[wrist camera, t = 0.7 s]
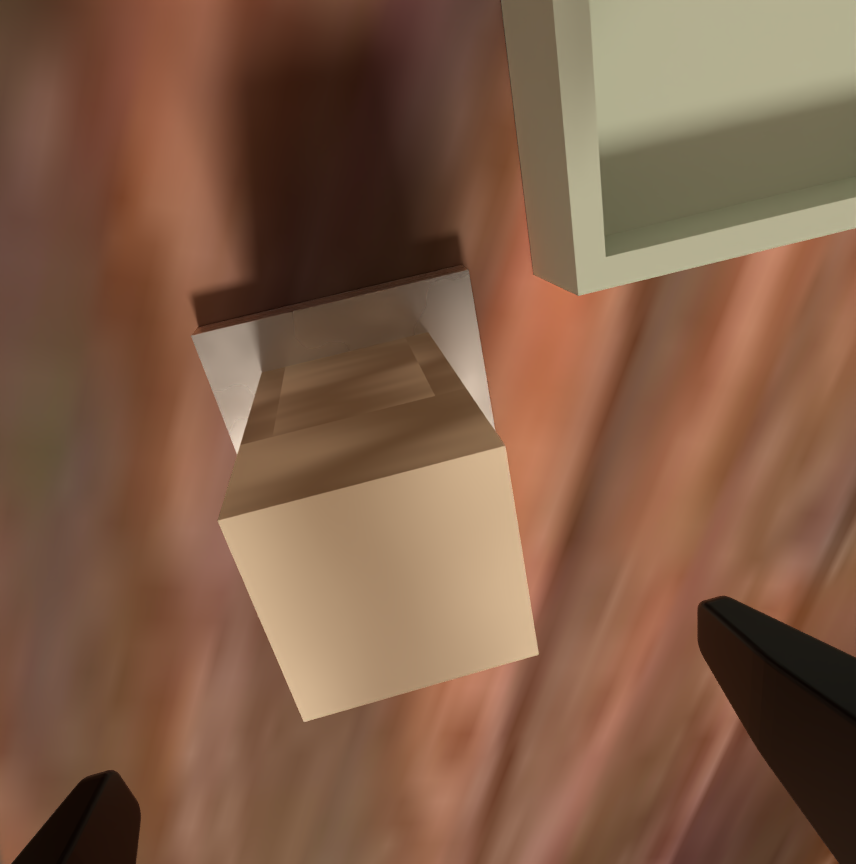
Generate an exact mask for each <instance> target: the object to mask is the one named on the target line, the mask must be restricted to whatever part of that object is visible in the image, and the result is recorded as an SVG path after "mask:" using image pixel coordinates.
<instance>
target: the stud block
mask: <svg viewBox="0 0 856 864" xmlns="http://www.w3.org/2000/svg"><path fill="white" fill-rule="evenodd" d="M426 332H428V333H429V334H430V336H431V337H432V338H433V340H434V341H435V343H436V344H437V346H438V347H439V349H440V350H441V352H442V353H443V355H444V356H445V358H446V359H447V361H448V362H449V364H450V365H451V366H452V368H453V369H454V371H455V372H456V374H457V375H458V377H459V378H460V380H461V381H462V383H463V384H464V386H465V387H466V389H467V390H468V392H469V393H470V394H471V396H472V397H473V399H474V400H475V402H476V403H477V405H478V406H479V408H480V409H481V411H482V412H483V414H484V415H485V417H486V418H487V420H488V421H489V423H490V424H491V425H492V427H493V428H494V430H495V427H494V421H493V415H492V409H491V403H490V397H489V391H488V385H487V379H486V372H485V366H484V360H483V354H482V348H481V342H480V336H479V330H478V324H477V318H476V312H475V306H474V300H473V294H472V288H471V282H470V276H469V270H468V269H467V268H465V267H463V266H462V265H458V266H454V267H449V268H445V269H441V270H437V271H433V272H428V273H424V274H420V275H416V276H411V277H407V278H403V279H399V280H395V281H390V282H386V283H382V284H378V285H374V286H369V287H365V288H361V289H357V290H352V291H348V292H344V293H340V294H336V295H331V296H327V297H323V298H319V299H314V300H310V301H306V302H302V303H298V304H293V305H289V306H285V307H281V308H277V309H272V310H268V311H264V312H260V313H255V314H251V315H247V316H243V317H239V318H234V319H230V320H226V321H222V322H217V323H213V324H209V325H205V326H201V327H198V328H197V329H196V330H195V331H194V333H193V334H192V335H191V337H192V339H193V342H194V344H195V347H196V349H197V352H198V355H199V357H200V360H201V362H202V365H203V367H204V370H205V373H206V375H207V378H208V380H209V383H210V386H211V388H212V391H213V393H214V396H215V398H216V401H217V404H218V406H219V409H220V411H221V414H222V416H223V419H224V422H225V424H226V427H227V429H228V432H229V434H230V437H231V440H232V442H233V445H234V447H235V450H236V453H237V454H238V450H239V447H240V444H241V440H242V437H243V434H244V430H245V427H246V424H247V420H248V417H249V414H250V410H251V407H252V403H253V400H254V397H255V393H256V390H257V387H258V383H259V380H260V377H261V373H263V372H267V371H271V370H275V369H279V368H283V367H287V366H291V365H295V364H299V363H303V362H308V361H312V360H316V359H320V358H324V357H328V356H332V355H336V354H340V353H344V352H348V351H353V350H357V349H361V348H365V347H369V346H373V345H377V344H381V343H385V342H389V341H394V340H398V339H402V338H406V337H410V336H414V335H418V334H422V333H426Z"/></svg>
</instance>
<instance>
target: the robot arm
mask: <svg viewBox="0 0 856 864" xmlns="http://www.w3.org/2000/svg"><path fill="white" fill-rule="evenodd" d="M698 645H699V648H700V651H701V653H702V655H703V657H704V659H705V661H706V662H707V664H708V666H709V668H710V669H711V671H712V673H713V674H714V676H715V678H716V680H717V681H718V683H719V685H720V686H721V688H722V690H723V692H724V693H725V695H726V697H727V698H728V700H729V702H730V704H731V705H732V707H733V709H734V710H735V712H736V714H737V716H738V717H739V719H740V721H741V722H742V724H743V726H744V728H745V729H746V731H747V733H748V734H749V736H750V738H751V739H752V741H753V743H754V744H755V746H756V747H757V749H758V751H759V752H760V753H761V755H762V756H763V758H764V759H765V761H766V762H767V764H768V765H769V767H770V768H771V769H772V771H773V772H774V773H775V775H776V776H777V778H778V779H779V780H780V782H781V783H782V785H783V786H784V787H785V789H786V790H787V792H788V793H789V794H790V796H791V797H792V798H793V800H794V801H795V803H796V804H797V805H798V807H799V808H800V810H801V811H802V812H803V814H804V815H805V817H806V818H807V819H808V821H809V822H810V823H811V825H812V826H813V828H814V829H815V830H816V832H817V833H818V835H819V836H820V837H821V839H822V840H823V842H824V843H825V844H826V846H827V847H828V848H829V850H830V851H831V853H832V854H833V855H834V857H835V858H836V860H837V861H838V862H839V864H856V657H854V656H851V655H849V654H847V653H845V652H843V651H841V650H839V649H837V648H835V647H833V646H831V645H828V644H826V643H824V642H822V641H820V640H818V639H816V638H814V637H812V636H810V635H808V634H805V633H803V632H801V631H799V630H797V629H795V628H793V627H791V626H789V625H787V624H785V623H783V622H780V621H778V620H776V619H774V618H772V617H770V616H768V615H766V614H764V613H762V612H760V611H757V610H755V609H753V608H751V607H749V606H747V605H745V604H743V603H741V602H739V601H737V600H735V599H732V598H730V597H727V596H718V597H715V598H711V599H708V600H704V601H702V602H700V604H699V605H698ZM140 822H141V813H140V807H139V804H138V802H137V800H136V798H135V797H134V795H133V794H132V792H131V791H130V789H129V788H128V786H127V785H126V784H125V782H124V781H123V779H122V778H121V776H120V775H119V773H118V772H116V771H114V770H108V771H104V772H101V773H97V774H94V775H90V776H87V777H86V778H84V779H82V780H81V781H80V782H79V783H78V784H77V785H76V787H75V788H74V789H73V790H72V791H71V793H70V794H69V795H68V796H67V797H66V799H65V800H64V801H63V802H62V803H61V805H60V806H59V807H58V808H57V809H56V811H55V812H54V813H53V814H52V815H51V817H50V818H49V819H48V820H47V821H46V823H45V824H44V825H43V826H42V827H41V829H40V830H39V831H38V832H37V833H36V835H35V836H34V837H33V838H32V839H31V841H30V842H29V843H28V844H27V845H26V847H25V848H24V849H23V850H22V851H21V853H20V854H19V855H18V856H17V857H16V859H15V860H14V861H13V862H12V863H11V864H136V858H137V849H138V840H139V831H140Z"/></svg>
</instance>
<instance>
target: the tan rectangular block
mask: <svg viewBox="0 0 856 864" xmlns="http://www.w3.org/2000/svg"><path fill="white" fill-rule="evenodd" d="M218 523H219V525H220V528H221V530H222V532H223V535H224V537H225V539H226V542H227V544H228V546H229V549H230V551H231V553H232V556H233V558H234V560H235V563H236V565H237V567H238V570H239V572H240V574H241V577H242V579H243V581H244V583H245V586H246V588H247V590H248V593H249V595H250V597H251V600H252V602H253V604H254V607H255V609H256V611H257V614H258V616H259V618H260V621H261V623H262V625H263V628H264V630H265V632H266V635H267V637H268V639H269V642H270V644H271V646H272V649H273V651H274V653H275V656H276V658H277V660H278V663H279V665H280V667H281V670H282V672H283V674H284V677H285V679H286V681H287V684H288V686H289V688H290V691H291V693H292V695H293V698H294V700H295V702H296V705H297V707H298V709H299V712H300V714H301V716H302V719H303V721H304V722H306V721H309V720H313V719H316V718H320V717H323V716H327V715H330V714H334V713H337V712H340V711H344V710H347V709H351V708H354V707H358V706H361V705H365V704H368V703H372V702H375V701H379V700H382V699H386V698H389V697H393V696H396V695H400V694H403V693H407V692H410V691H414V690H417V689H421V688H424V687H428V686H431V685H435V684H438V683H441V682H445V681H448V680H452V679H455V678H459V677H462V676H466V675H469V674H473V673H476V672H480V671H483V670H487V669H490V668H494V667H497V666H501V665H504V664H508V663H511V662H515V661H518V660H522V659H525V658H529V657H532V656H536V655H539V654H538V647H537V641H536V635H535V628H534V622H533V616H532V610H531V603H530V597H529V591H528V585H527V578H526V572H525V566H524V560H523V553H522V547H521V541H520V535H519V528H518V522H517V516H516V510H515V503H514V497H513V491H512V485H511V478H510V472H509V466H508V460H507V453H506V447H505V445H504V443H503V442H502V440H501V439H500V437H499V436H498V434H497V433H496V431H495V430H494V428H493V427H492V425H491V424H490V423H489V421H488V420H487V418H486V417H485V415H484V414H483V412H482V411H481V409H480V408H479V406H478V405H477V403H476V402H475V400H474V399H473V397H472V396H471V394H470V393H469V392H468V390H467V389H466V387H465V386H464V384H463V383H462V381H461V380H460V378H459V377H458V375H457V374H456V372H455V371H454V369H453V368H452V366H451V365H450V364H449V362H448V361H447V359H446V358H445V356H444V355H443V353H442V352H441V350H440V349H439V347H438V346H437V344H436V343H435V341H434V340H433V338H432V337H431V336H430V334H429V333H428V332H426V333H422V334H418V335H414V336H410V337H406V338H402V339H398V340H394V341H389V342H385V343H381V344H377V345H373V346H369V347H365V348H361V349H357V350H353V351H348V352H344V353H340V354H336V355H332V356H328V357H324V358H320V359H316V360H312V361H308V362H303V363H299V364H295V365H291V366H287V367H283V368H279V369H275V370H271V371H267V372H263V373H261V377H260V380H259V383H258V387H257V390H256V393H255V397H254V400H253V403H252V407H251V410H250V414H249V417H248V420H247V424H246V427H245V430H244V434H243V437H242V440H241V444H240V447H239V450H238V454H237V457H236V461H235V464H234V467H233V471H232V474H231V477H230V481H229V484H228V487H227V491H226V494H225V498H224V501H223V504H222V508H221V511H220V514H219V518H218Z"/></svg>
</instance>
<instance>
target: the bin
mask: <svg viewBox="0 0 856 864" xmlns="http://www.w3.org/2000/svg"><path fill="white" fill-rule="evenodd" d="M501 6H502V15H503V23H504V31H505V40H506V48H507V57H508V65H509V73H510V82H511V90H512V99H513V107H514V115H515V124H516V132H517V141H518V149H519V157H520V166H521V174H522V183H523V191H524V199H525V208H526V216H527V225H528V233H529V241H530V250H531V258H532V267H533V275H536V276H538V277H540V278H542V279H544V280H546V281H548V282H550V283H552V284H555V285H557V286H559V287H561V288H563V289H565V290H567V291H569V292H571V293H574V294H576V295H578V296H579V295H584V294H588V293H592V292H596V291H600V290H604V289H608V288H612V287H616V286H620V285H624V284H629V283H633V282H637V281H641V280H645V279H649V278H653V277H657V276H661V275H665V274H670V273H674V272H678V271H682V270H686V269H690V268H694V267H698V266H702V265H706V264H710V263H715V262H719V261H723V260H727V259H731V258H735V257H739V256H743V255H747V254H751V253H755V252H760V251H764V250H768V249H772V248H776V247H780V246H784V245H788V244H792V243H796V242H800V241H805V240H809V239H813V238H817V237H821V236H825V235H829V234H833V233H837V232H841V231H845V230H850V229H854V228H856V0H501Z"/></svg>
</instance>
